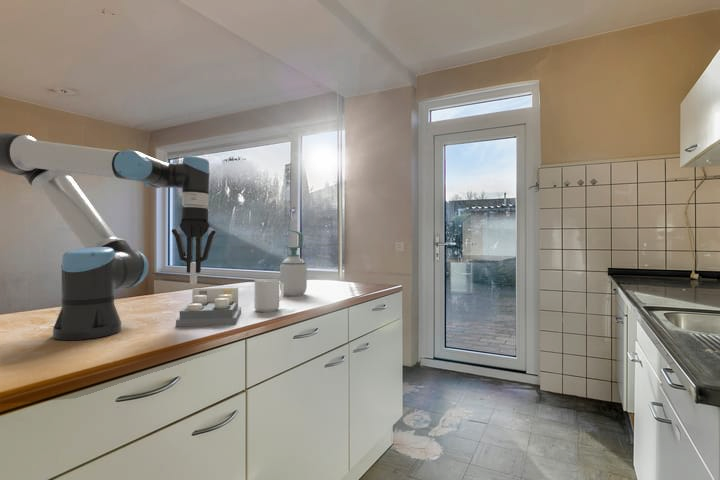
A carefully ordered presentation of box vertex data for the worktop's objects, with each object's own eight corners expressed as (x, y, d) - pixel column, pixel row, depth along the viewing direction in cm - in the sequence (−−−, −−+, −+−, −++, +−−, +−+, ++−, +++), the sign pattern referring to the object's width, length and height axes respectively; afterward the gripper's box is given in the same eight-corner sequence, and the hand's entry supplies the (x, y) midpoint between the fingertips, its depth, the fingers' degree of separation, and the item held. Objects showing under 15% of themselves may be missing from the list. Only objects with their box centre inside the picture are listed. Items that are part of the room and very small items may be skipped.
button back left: (191, 306, 121) (191, 297, 121) (194, 304, 125) (194, 295, 125) (205, 305, 122) (205, 296, 122) (207, 303, 126) (207, 294, 126)
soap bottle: (285, 292, 183) (285, 229, 183) (309, 293, 182) (310, 229, 182) (276, 296, 171) (276, 228, 171) (302, 297, 169) (302, 228, 169)
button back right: (217, 305, 123) (217, 296, 123) (219, 303, 127) (219, 294, 127) (231, 305, 124) (231, 296, 124) (232, 303, 128) (232, 294, 128)
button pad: (175, 326, 111) (176, 296, 111) (189, 314, 129) (189, 288, 129) (235, 324, 115) (235, 294, 115) (241, 312, 133) (241, 287, 133)
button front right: (213, 309, 115) (213, 300, 115) (215, 307, 119) (215, 298, 119) (228, 309, 116) (228, 299, 116) (229, 307, 120) (229, 297, 120)
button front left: (185, 315, 113) (185, 305, 113) (188, 313, 117) (188, 303, 117) (200, 315, 114) (200, 305, 114) (203, 312, 118) (203, 303, 118)
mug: (264, 313, 132) (264, 282, 132) (249, 310, 137) (249, 280, 137) (290, 308, 141) (290, 279, 141) (275, 306, 147) (275, 277, 147)
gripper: (169, 205, 111) (167, 285, 111) (215, 207, 113) (213, 284, 113) (175, 207, 118) (173, 282, 118) (219, 209, 121) (217, 282, 121)
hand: (193, 283), depth 116 cm, fingers closed
